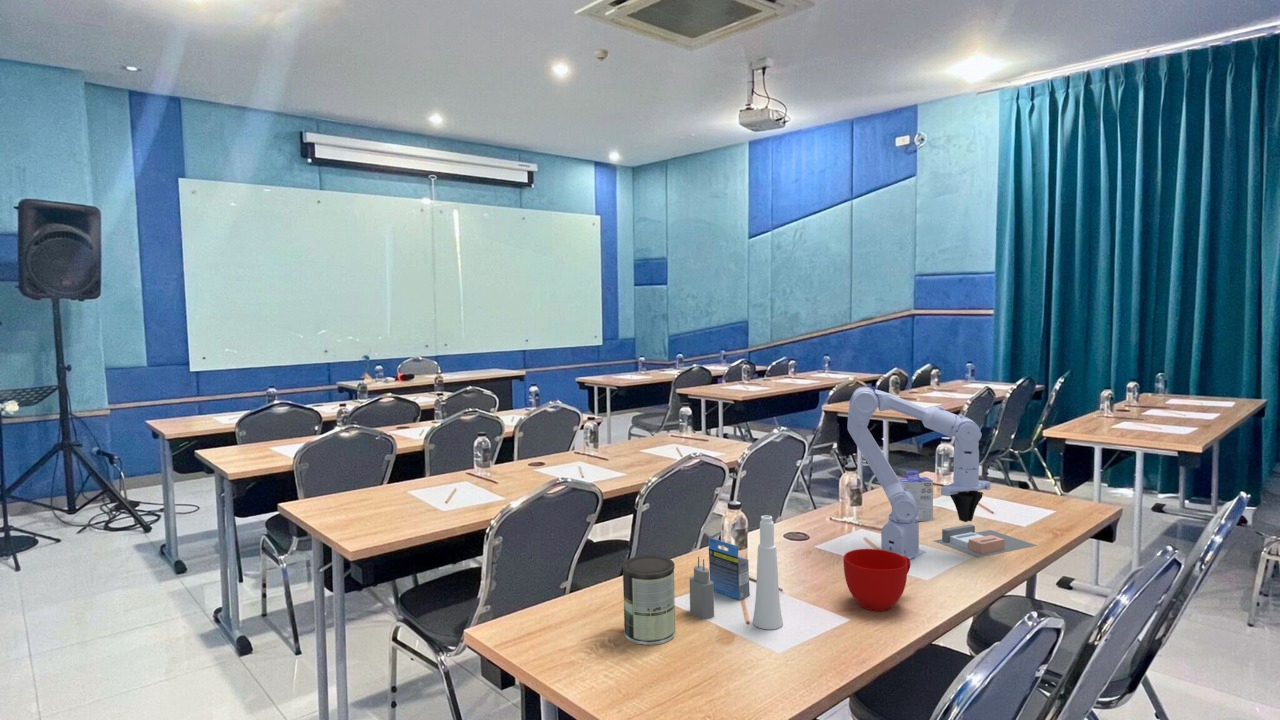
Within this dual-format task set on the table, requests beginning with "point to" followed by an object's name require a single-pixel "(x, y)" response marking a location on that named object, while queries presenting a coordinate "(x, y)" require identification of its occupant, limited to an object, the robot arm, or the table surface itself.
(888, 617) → the table surface
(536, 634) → the table surface
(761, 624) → the cosmetic bottle
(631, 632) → the coffee can
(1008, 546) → the desk mat
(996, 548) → the stub
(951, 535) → the grey stepped housing
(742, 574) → the label tape box
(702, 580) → the power adapter
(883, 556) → the ceramic cup
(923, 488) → the ink cartridge box
